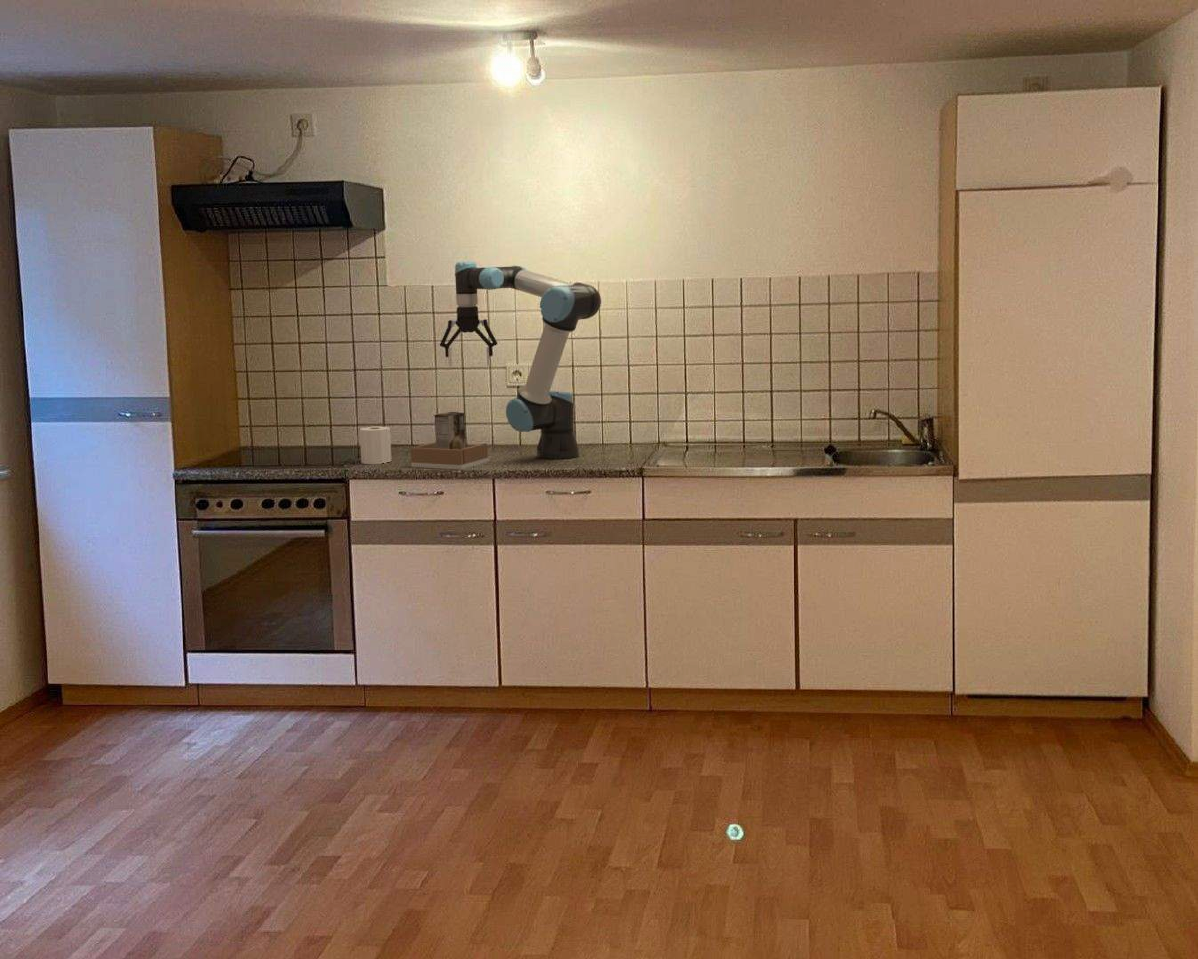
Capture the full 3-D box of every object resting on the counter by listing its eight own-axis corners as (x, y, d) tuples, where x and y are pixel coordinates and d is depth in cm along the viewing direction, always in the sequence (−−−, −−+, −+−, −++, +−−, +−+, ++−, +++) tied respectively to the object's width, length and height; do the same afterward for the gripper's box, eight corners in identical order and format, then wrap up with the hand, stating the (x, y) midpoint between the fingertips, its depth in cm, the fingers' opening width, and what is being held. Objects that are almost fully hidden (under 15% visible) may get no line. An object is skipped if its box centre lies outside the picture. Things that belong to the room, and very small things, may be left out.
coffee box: (452, 457, 510) (450, 411, 508) (466, 458, 507) (465, 412, 504) (435, 461, 503) (433, 414, 500) (450, 462, 499) (448, 415, 497)
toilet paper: (397, 461, 514) (395, 427, 512) (372, 465, 507) (370, 430, 505) (380, 459, 521) (378, 425, 519) (355, 462, 514) (354, 428, 512)
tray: (488, 461, 508) (488, 443, 507) (461, 469, 493) (460, 450, 492) (440, 459, 517) (439, 440, 516) (411, 466, 501) (410, 448, 500)
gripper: (503, 304, 522) (505, 364, 526) (433, 306, 523) (436, 365, 526) (501, 305, 515) (503, 366, 518) (430, 307, 516) (433, 367, 519)
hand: (469, 366), depth 522 cm, fingers open, 13 cm apart
